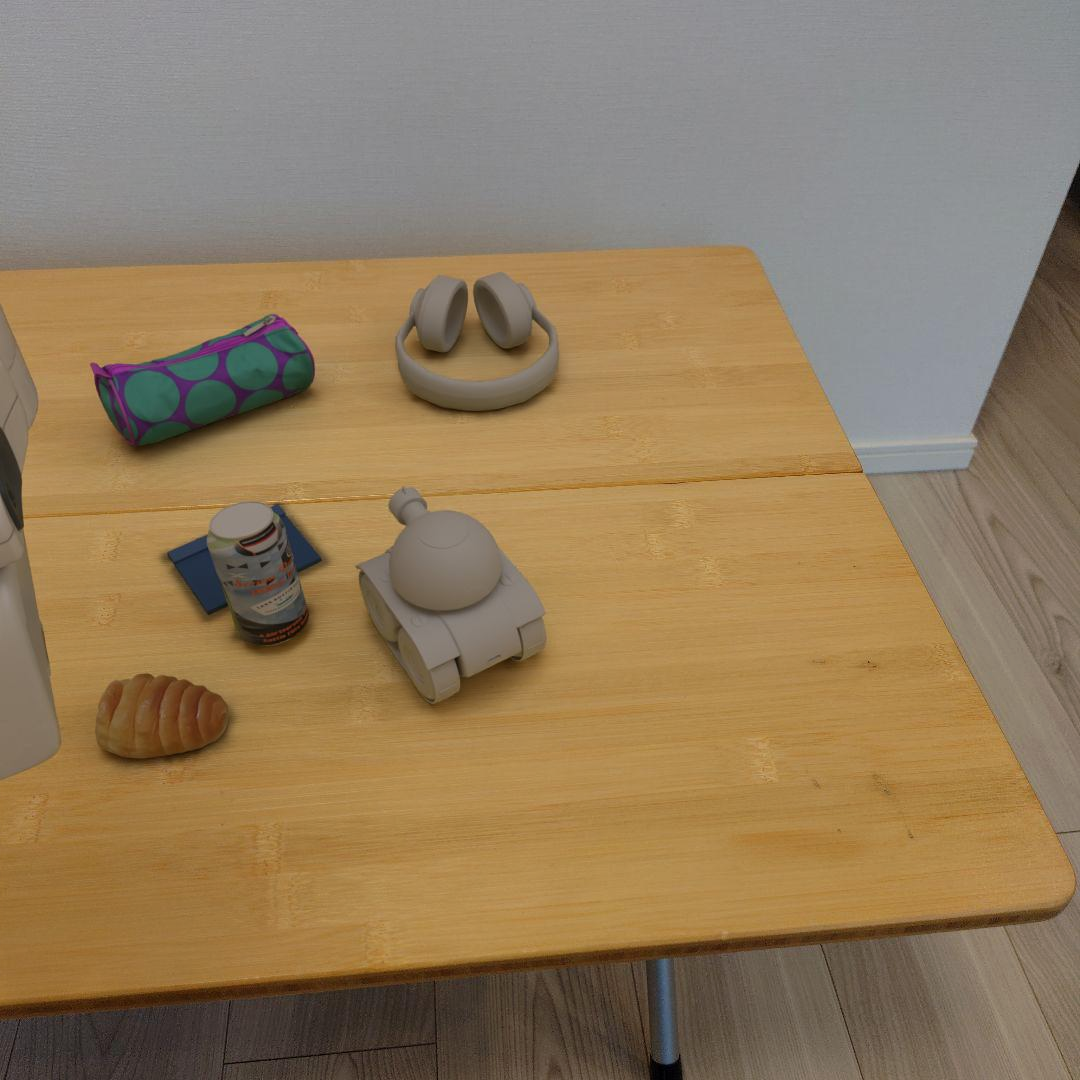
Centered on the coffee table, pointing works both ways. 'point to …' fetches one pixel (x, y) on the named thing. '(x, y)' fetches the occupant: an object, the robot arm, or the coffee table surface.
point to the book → (202, 573)
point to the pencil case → (205, 381)
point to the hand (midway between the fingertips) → (27, 661)
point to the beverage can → (257, 573)
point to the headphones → (505, 321)
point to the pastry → (158, 716)
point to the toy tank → (448, 598)
